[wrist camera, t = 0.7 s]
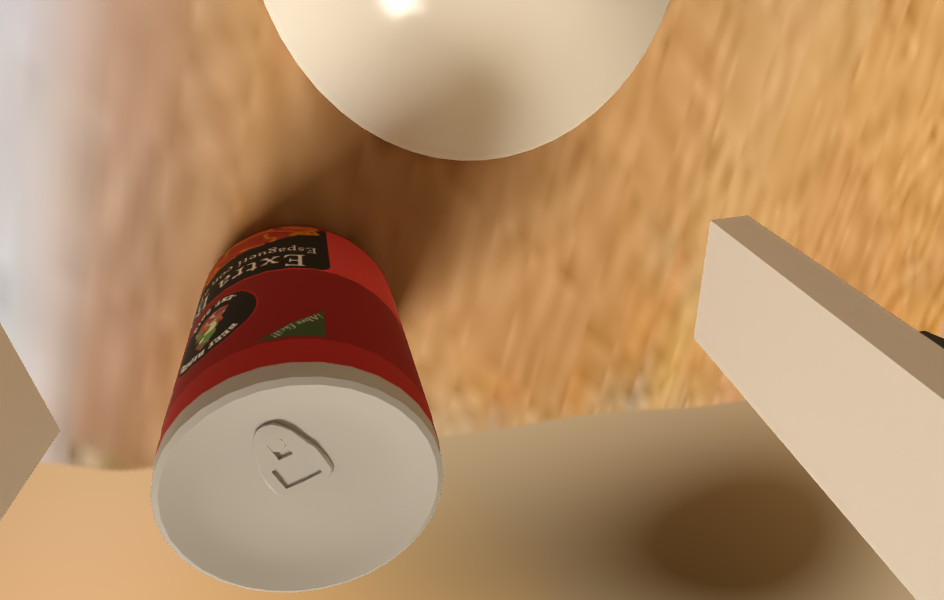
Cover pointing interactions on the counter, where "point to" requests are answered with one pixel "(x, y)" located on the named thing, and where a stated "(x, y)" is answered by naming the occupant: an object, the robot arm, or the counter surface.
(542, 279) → the counter surface
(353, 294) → the canned food
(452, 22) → the plate
